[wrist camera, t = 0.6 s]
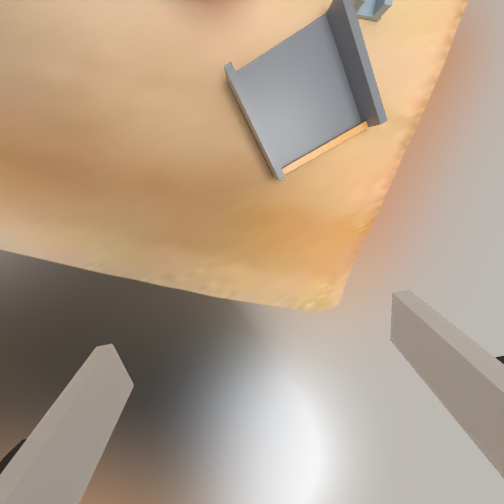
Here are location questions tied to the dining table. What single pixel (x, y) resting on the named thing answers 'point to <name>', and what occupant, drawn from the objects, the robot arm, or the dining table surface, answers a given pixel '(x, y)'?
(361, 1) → the clip
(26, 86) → the dining table surface
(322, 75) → the end holder
